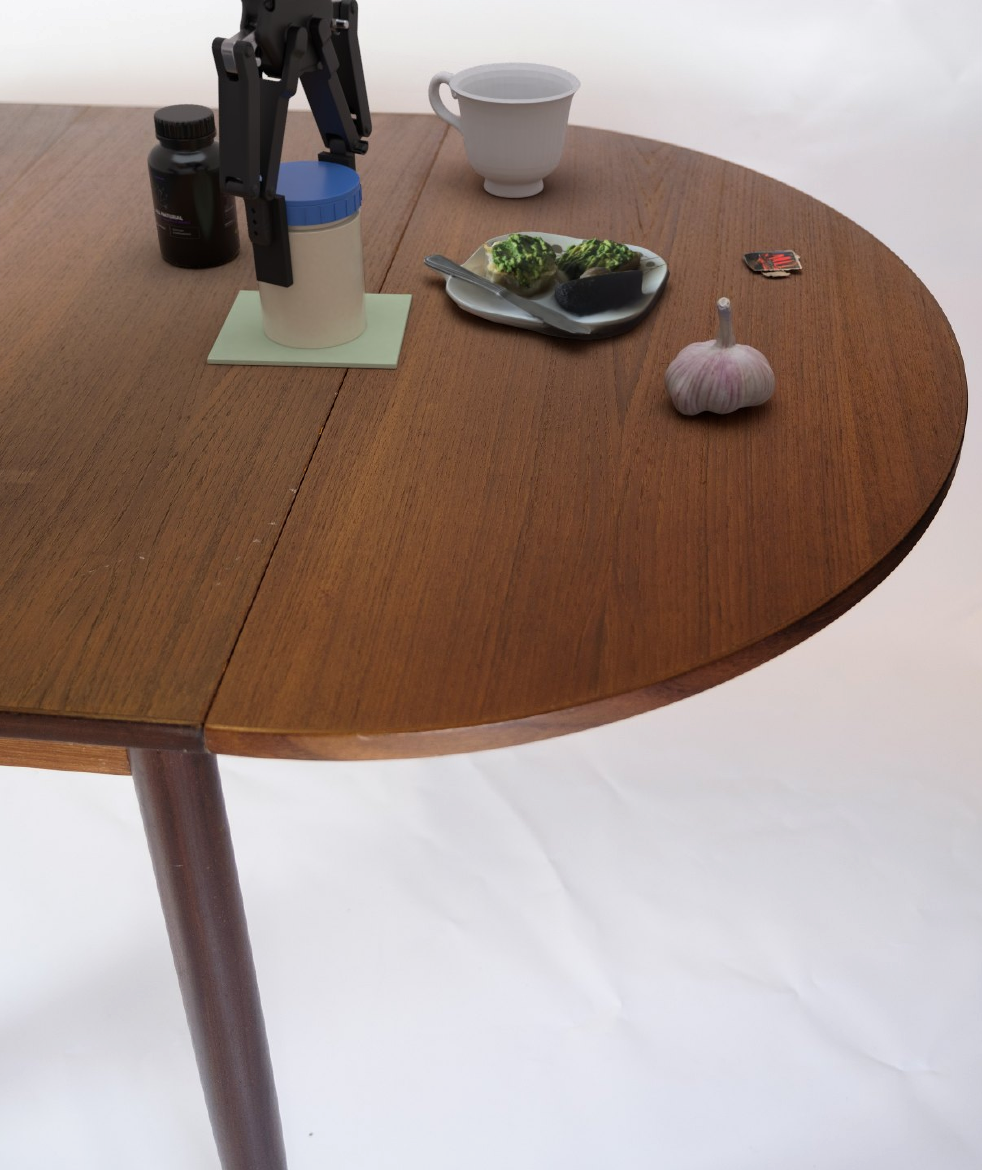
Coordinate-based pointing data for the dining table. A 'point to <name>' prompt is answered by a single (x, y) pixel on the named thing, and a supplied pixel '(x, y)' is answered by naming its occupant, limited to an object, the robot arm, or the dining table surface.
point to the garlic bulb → (719, 373)
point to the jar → (319, 288)
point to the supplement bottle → (190, 189)
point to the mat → (369, 350)
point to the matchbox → (773, 261)
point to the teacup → (509, 121)
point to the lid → (318, 192)
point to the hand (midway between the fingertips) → (309, 260)
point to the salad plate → (556, 284)
